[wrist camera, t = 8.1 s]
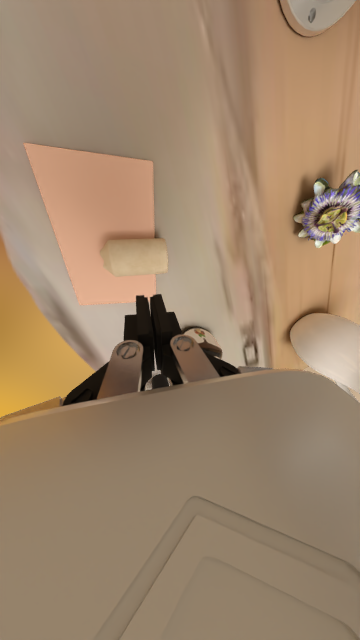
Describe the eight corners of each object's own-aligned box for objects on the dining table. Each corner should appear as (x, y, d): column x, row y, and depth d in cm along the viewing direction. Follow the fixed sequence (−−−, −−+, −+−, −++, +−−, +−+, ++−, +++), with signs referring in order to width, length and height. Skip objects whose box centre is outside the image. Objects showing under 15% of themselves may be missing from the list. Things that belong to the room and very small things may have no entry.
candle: (163, 230, 26) (96, 231, 24) (169, 257, 24) (97, 261, 22) (162, 255, 31) (107, 257, 29) (167, 279, 29) (108, 284, 27)
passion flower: (277, 215, 36) (304, 184, 25) (332, 181, 33) (391, 127, 22) (298, 259, 37) (333, 249, 26) (354, 231, 34) (421, 204, 22)
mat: (25, 144, 19) (23, 142, 19) (152, 162, 23) (152, 161, 22) (80, 303, 32) (79, 305, 31) (155, 299, 35) (156, 300, 35)
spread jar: (214, 330, 46) (235, 362, 37) (196, 356, 51) (210, 390, 42) (178, 320, 41) (191, 355, 32) (161, 351, 46) (168, 388, 37)
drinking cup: (173, 380, 56) (190, 449, 40) (153, 388, 56) (162, 461, 40) (166, 368, 51) (181, 442, 35) (143, 377, 51) (149, 455, 35)
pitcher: (286, 315, 50) (405, 405, 28) (335, 298, 50) (489, 372, 29) (275, 360, 65) (348, 441, 43) (313, 346, 65) (404, 418, 44)
